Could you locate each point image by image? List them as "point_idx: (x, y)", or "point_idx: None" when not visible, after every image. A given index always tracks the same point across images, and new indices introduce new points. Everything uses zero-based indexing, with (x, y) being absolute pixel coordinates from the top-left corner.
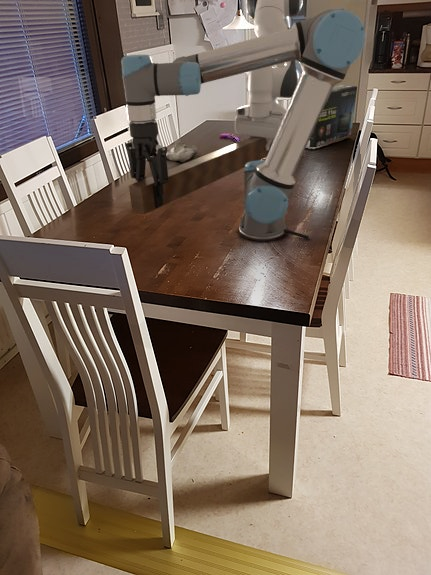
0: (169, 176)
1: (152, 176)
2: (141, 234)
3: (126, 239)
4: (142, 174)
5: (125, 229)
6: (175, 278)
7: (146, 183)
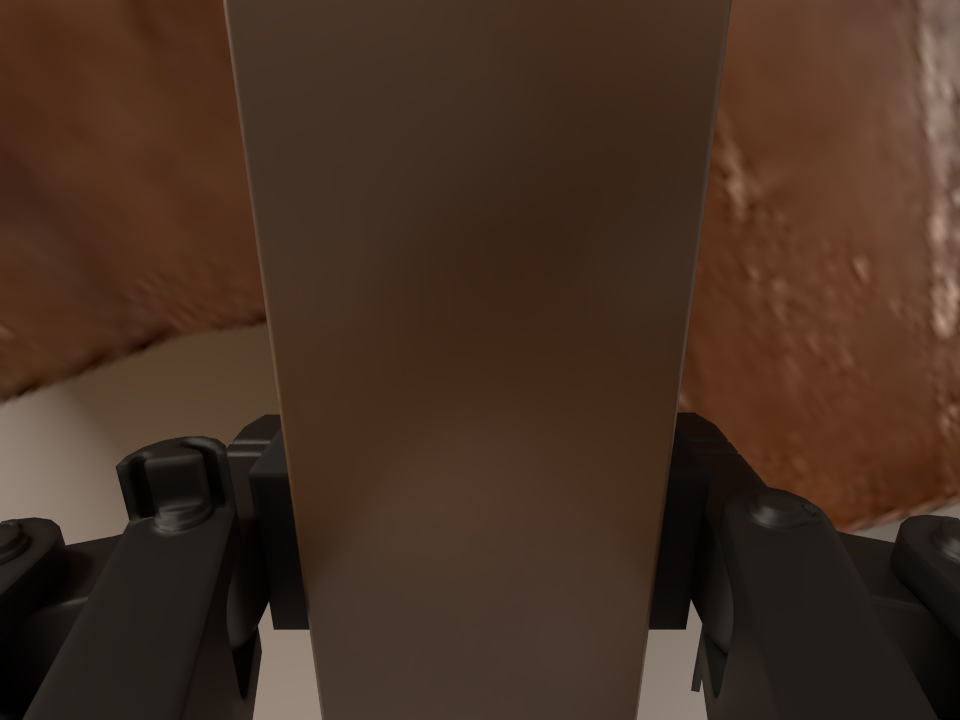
0: (717, 96)
1: (304, 353)
2: (191, 120)
3: (181, 241)
4: (229, 663)
5: (24, 118)
6: (757, 437)
7: (545, 713)
